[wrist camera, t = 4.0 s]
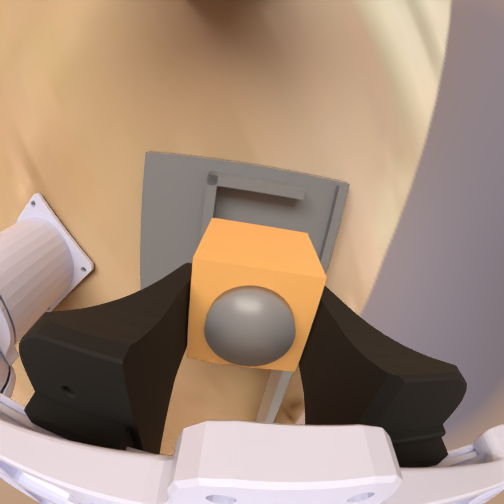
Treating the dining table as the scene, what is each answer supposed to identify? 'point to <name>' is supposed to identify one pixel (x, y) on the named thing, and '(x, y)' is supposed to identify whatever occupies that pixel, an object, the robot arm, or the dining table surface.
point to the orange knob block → (253, 295)
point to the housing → (228, 206)
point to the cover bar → (273, 395)
